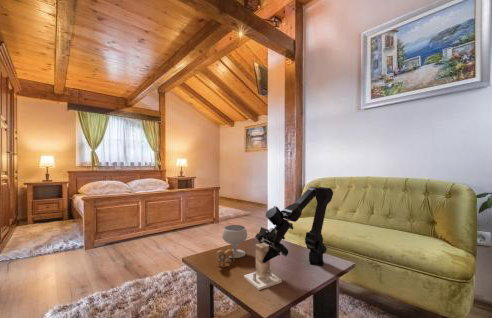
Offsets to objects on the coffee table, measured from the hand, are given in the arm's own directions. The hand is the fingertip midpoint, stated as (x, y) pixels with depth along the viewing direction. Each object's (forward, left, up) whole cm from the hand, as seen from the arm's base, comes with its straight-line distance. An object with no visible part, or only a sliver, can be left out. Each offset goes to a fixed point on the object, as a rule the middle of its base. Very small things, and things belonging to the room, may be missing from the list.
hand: (260, 260), depth 103 cm
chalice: (+20, -24, -9) cm, 33 cm away
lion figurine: (+20, -10, -9) cm, 24 cm away
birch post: (-1, -1, -7) cm, 7 cm away
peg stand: (-1, -1, -9) cm, 9 cm away
